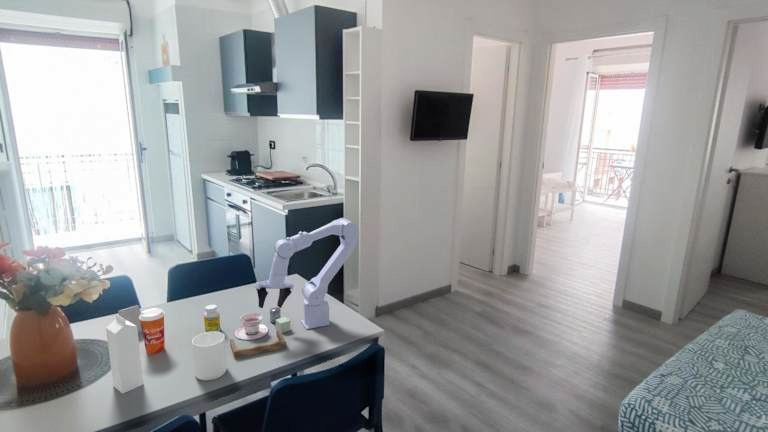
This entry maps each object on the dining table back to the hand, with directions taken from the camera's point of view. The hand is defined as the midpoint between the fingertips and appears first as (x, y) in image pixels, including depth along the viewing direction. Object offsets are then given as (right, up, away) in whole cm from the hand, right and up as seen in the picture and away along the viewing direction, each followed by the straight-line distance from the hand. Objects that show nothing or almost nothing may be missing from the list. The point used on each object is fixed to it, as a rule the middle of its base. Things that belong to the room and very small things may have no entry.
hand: (270, 307), depth 160 cm
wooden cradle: (-2, -12, -9) cm, 15 cm away
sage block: (+4, -10, +4) cm, 11 cm away
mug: (-13, -15, -24) cm, 31 cm away
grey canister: (-1, -8, +11) cm, 13 cm away
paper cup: (-36, -12, -12) cm, 40 cm away
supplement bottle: (-22, -10, +2) cm, 24 cm away
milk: (-34, -17, -32) cm, 49 cm away
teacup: (-7, -10, +2) cm, 13 cm away
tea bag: (-51, -10, -1) cm, 52 cm away
